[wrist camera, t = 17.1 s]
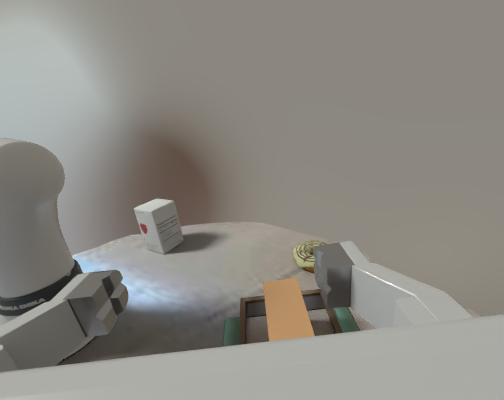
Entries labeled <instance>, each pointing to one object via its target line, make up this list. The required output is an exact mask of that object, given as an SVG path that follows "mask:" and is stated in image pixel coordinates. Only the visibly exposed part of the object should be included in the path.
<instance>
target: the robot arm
mask: <svg viewBox="0 0 504 400" xmlns="http://www.w3.org/2000/svg"><path fill="white" fill-rule="evenodd" d="M64 179H65V175H64V170H63V167H62V165H61V163H60V162H59V160H58V159H57V157H56V156H55V155H54V154H53V153H51V152H50V151H48V150H47V149H46V148H44V147H42V146H39V145H37V144H34V143H30V142H26V141H21V140H15V139H8V138H0V400H504V314H502V315H494V316H485V317H476V318H473V317H472V316H471V315H470V314H469V313H468V312H467V311H465V310H464V309H463V308H462V307H461V306H460V305H459V304H458V303H457V302H455V301H454V300H453V299H452V298H451V297H450V296H449V295H447V294H446V293H445V292H443V291H441V290H438V289H436V288H433V287H431V286H429V285H426V284H424V283H421V282H419V281H416V280H414V279H412V278H409V277H407V276H405V275H402V274H400V273H397V272H395V271H392V270H390V269H387V268H385V267H383V266H380V265H378V264H376V263H370V262H369V261H368V260H367V259H366V258H365V256H364V255H363V254H362V253H361V252H360V251H359V249H358V248H357V247H356V246H355V245H354V244H353V242H351V241H345V242H339V243H333V244H326V245H319V246H313V256H314V258H315V260H316V261H315V263H314V274H315V279H316V283H317V285H318V287H319V288H320V289H322V297H323V299H324V302H325V304H326V306H327V309H330V308H341V307H350V308H351V309H353V310H354V311H355V312H357V313H358V314H359V315H360V316H362V317H363V318H364V319H366V320H367V321H368V322H369V323H371V324H372V325H373V326H375V327H376V328H377V329H372V330H364V331H355V332H346V333H338V334H329V335H320V336H312V337H303V338H294V339H286V340H277V341H268V342H260V343H251V344H242V345H233V346H225V347H216V348H207V349H199V350H190V351H181V352H172V353H163V354H154V355H146V356H137V357H128V358H120V359H111V360H102V361H94V362H85V363H76V364H68V365H59V366H56V365H57V364H58V363H59V362H60V361H61V360H63V359H64V358H66V357H68V356H70V355H72V354H73V353H75V352H76V351H78V350H79V349H81V348H82V347H84V346H85V345H86V344H87V343H88V342H90V341H91V340H92V339H93V338H94V337H95V336H100V335H107V334H109V333H110V331H111V330H112V328H113V327H114V325H115V323H116V322H117V320H118V318H117V315H118V314H119V313H121V312H122V311H123V310H124V309H125V307H126V305H127V302H128V291H127V288H126V286H124V285H123V284H122V283H121V281H122V279H123V277H122V275H121V273H120V271H118V270H109V271H99V272H89V273H83V272H82V270H81V267H80V265H79V264H78V262H77V261H76V260H74V259H73V257H72V255H71V253H70V251H69V248H68V246H67V244H66V242H65V239H64V237H63V235H62V232H61V229H60V225H59V220H58V212H57V197H58V195H59V193H60V192H61V190H62V188H63V185H64Z"/></svg>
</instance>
